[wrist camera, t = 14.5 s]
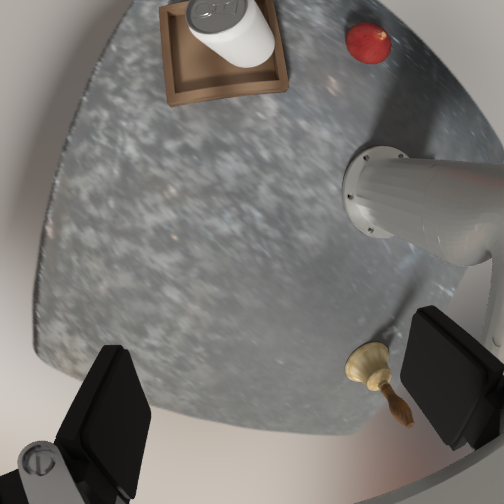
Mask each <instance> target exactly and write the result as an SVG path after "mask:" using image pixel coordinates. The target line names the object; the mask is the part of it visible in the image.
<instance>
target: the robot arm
mask: <svg viewBox="0 0 504 504" xmlns="http://www.w3.org/2000/svg"><path fill="white" fill-rule="evenodd" d="M398 156H399V157H398ZM363 157H365V159H363ZM348 194H349V197H348V198H347V196H348ZM342 199H343V204H344V208H345V211H346V213H347V216H348V217H349V219H350V220H351V222H352V223H353V224H354V225H355V226H356V228H357V229H359V230H360V231H362V232H363V233H365V234H367V235H369V236H371V237H375V238H383V239H385V238H391V237H394V236H397V237H399V238H401V239H403V240H406V241H408V242H410V243H412V244H414V245H416V246H418V247H419V248H421V249H423V250H425V251H427V252H429V253H431V254H433V255H435V256H437V257H439V258H441V259H443V260H445V261H447V262H449V263H451V264H454V265H457V266H474V265H477V264H480V263H483V262H485V261H487V260H489V259H491V258H492V262H493V265H492V276H491V288H490V293H489V299H488V304H487V309H486V314H485V319H484V323H483V327H482V332H481V336H480V340H479V342H478V341H477V340H476V339H474V338H473V337H472V336H471V335H470V334H469V333H467V332H466V331H465V330H464V329H462V328H461V327H460V326H459V325H457V324H456V323H455V322H454V321H453V320H451V319H450V318H449V317H448V316H446V315H445V314H444V313H443V312H441V311H440V310H439V309H438V308H436V307H435V306H433V305H430V306H426V307H422V308H419V309H417V311H416V313H415V314H414V315H413V317H412V323H411V328H410V333H409V338H408V343H407V348H406V352H405V357H404V361H403V365H402V369H401V373H400V379H401V382H402V384H403V385H404V387H405V388H406V389H407V391H408V392H409V393H410V395H411V396H412V398H413V399H414V400H415V402H416V403H417V405H418V406H419V407H420V409H421V410H422V412H423V413H424V414H425V416H426V417H427V419H428V420H429V422H430V423H431V425H432V426H433V427H434V429H435V430H436V432H437V433H438V435H439V436H440V438H441V439H442V440H443V442H444V443H445V444H446V445H449V446H450V447H451V448H452V450H453V451H455V450H456V449H458V448H460V447H462V446H464V445H465V444H466V443H467V442H468V443H469V444H470V448H469V455H467V456H465V457H464V458H462V459H460V460H458V461H456V462H455V463H453V464H451V465H449V466H447V467H445V468H443V469H441V470H439V471H437V472H435V473H433V474H431V475H429V476H426V477H424V478H422V479H420V480H417V481H415V482H413V483H411V484H408V485H406V486H403V487H401V488H398V489H396V490H393V491H390V492H388V493H385V494H382V495H379V496H376V497H373V498H370V499H367V500H364V501H361V502H357V503H354V504H504V163H503V164H494V163H475V162H464V161H451V160H436V159H418V158H409V157H408V156H407V155H406V154H405V153H404V152H402V151H400V150H399V149H396V148H393V147H390V146H375V147H372V148H368V149H366V150H364V151H363V152H361V153H360V154H359V155H357V156H356V157H355V158H354V160H353V161H352V162H351V163H350V165H349V167H348V169H347V171H346V173H345V177H344V180H343V186H342ZM368 229H369V230H368ZM150 421H151V410H150V407H149V404H148V402H147V399H146V397H145V394H144V392H143V389H142V387H141V384H140V381H139V379H138V376H137V373H136V370H135V367H134V365H133V362H132V359H131V356H130V353H129V351H128V350H127V349H124V348H123V347H122V346H121V345H104V346H103V347H102V349H101V351H100V352H99V354H98V356H97V358H96V360H95V361H94V363H93V365H92V367H91V369H90V370H89V372H88V374H87V376H86V378H85V380H84V381H83V383H82V385H81V387H80V389H79V391H78V393H77V395H76V397H75V399H74V401H73V402H72V404H71V406H70V408H69V410H68V412H67V415H66V417H65V419H64V420H63V422H62V424H61V427H60V429H59V431H58V433H57V435H56V439H55V441H54V443H51V442H48V441H36V442H32V443H31V444H29V445H27V446H26V447H25V448H24V449H23V450H22V451H21V453H20V454H19V457H18V469H16V470H14V471H12V472H9V473H7V474H4V475H2V476H0V504H129V502H130V499H134V498H135V495H136V490H137V485H138V479H139V474H140V469H141V463H142V458H143V454H144V449H145V443H146V439H147V435H148V430H149V425H150Z"/></svg>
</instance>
